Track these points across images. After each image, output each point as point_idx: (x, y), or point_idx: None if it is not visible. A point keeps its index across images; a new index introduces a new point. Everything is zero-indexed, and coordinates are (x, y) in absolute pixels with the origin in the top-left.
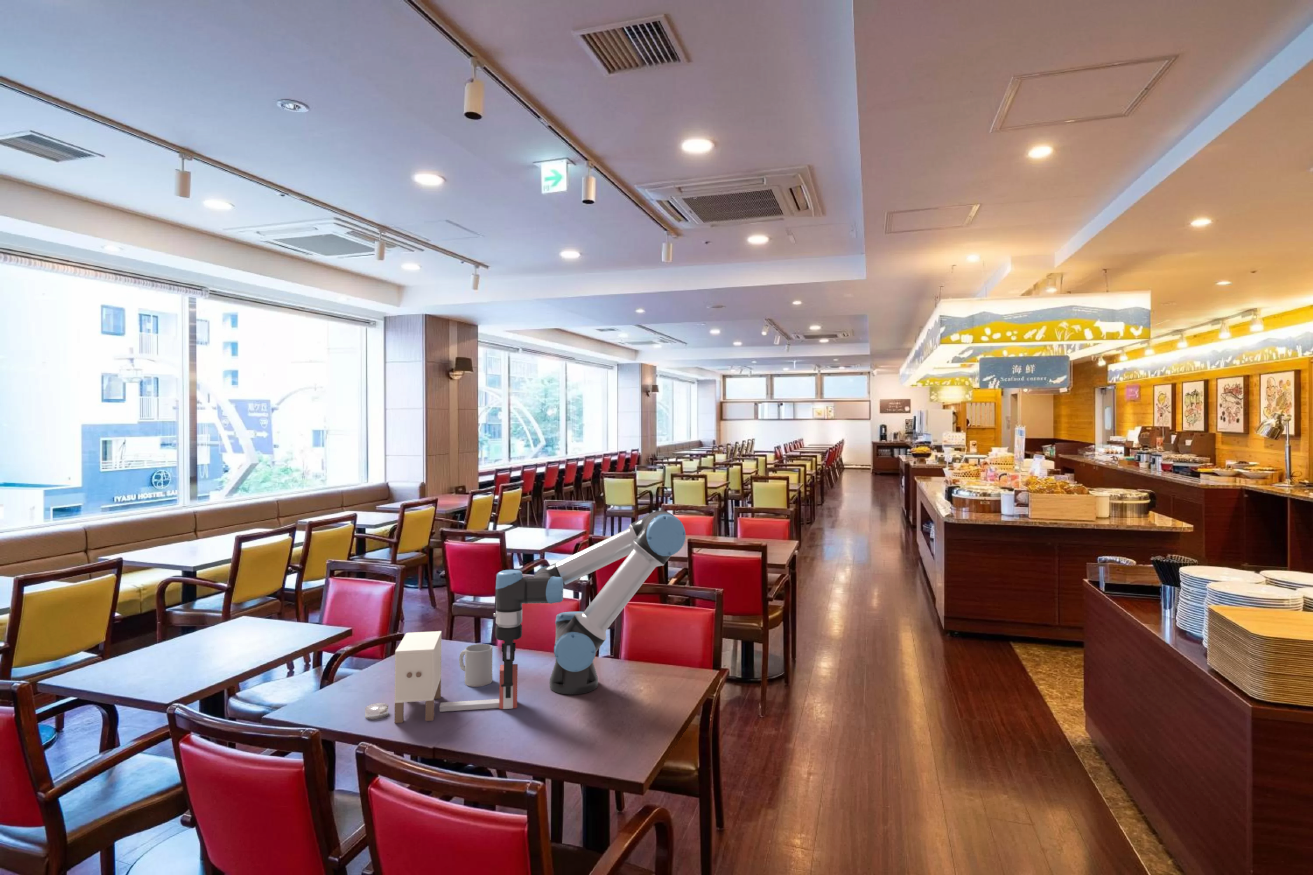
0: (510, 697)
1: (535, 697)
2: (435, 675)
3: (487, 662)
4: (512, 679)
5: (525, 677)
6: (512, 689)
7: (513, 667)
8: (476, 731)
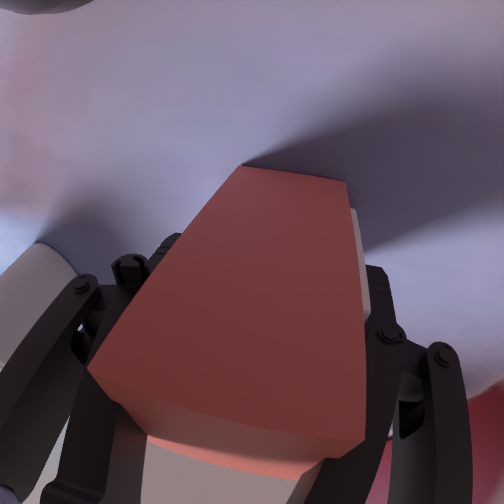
0: (383, 270)
1: (198, 54)
2: (260, 498)
3: (18, 315)
4: (464, 398)
5: (6, 134)
6: (368, 289)
7: (236, 438)
8: (470, 346)
